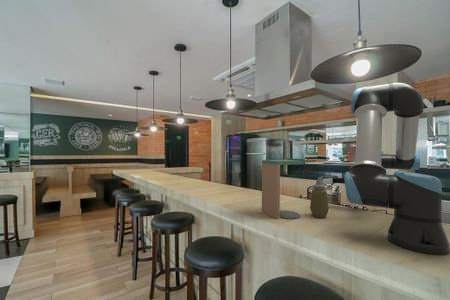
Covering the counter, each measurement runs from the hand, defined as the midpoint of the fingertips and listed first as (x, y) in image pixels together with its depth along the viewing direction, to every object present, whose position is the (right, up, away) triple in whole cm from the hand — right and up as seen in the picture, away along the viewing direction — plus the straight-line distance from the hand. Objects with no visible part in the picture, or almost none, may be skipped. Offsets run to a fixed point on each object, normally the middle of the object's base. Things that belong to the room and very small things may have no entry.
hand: (334, 183), depth 105 cm
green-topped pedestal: (-25, -14, -1) cm, 29 cm away
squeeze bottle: (-9, -15, -5) cm, 18 cm away
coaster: (-24, -14, -3) cm, 28 cm away
